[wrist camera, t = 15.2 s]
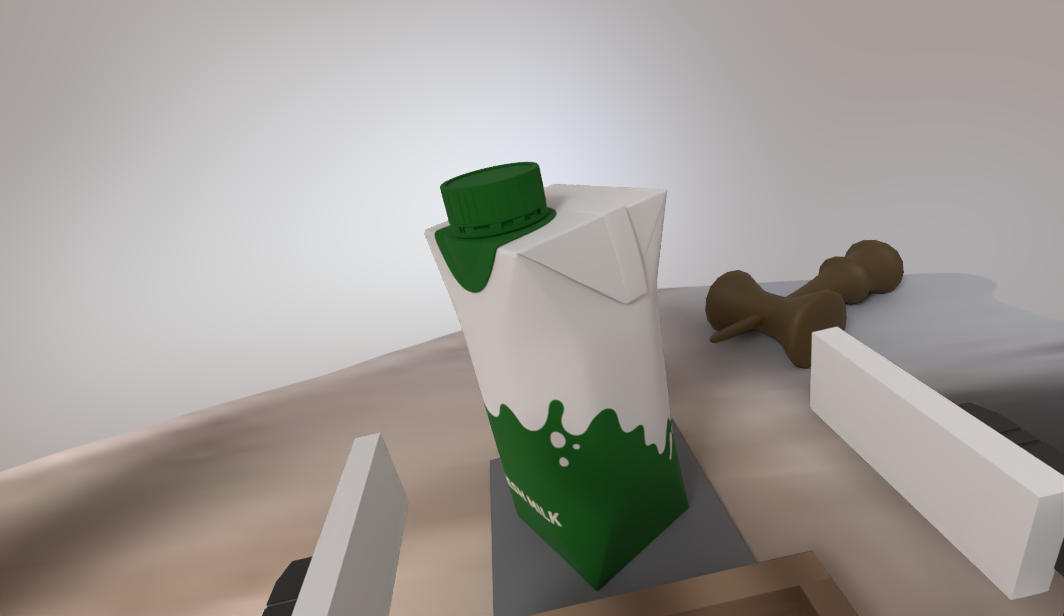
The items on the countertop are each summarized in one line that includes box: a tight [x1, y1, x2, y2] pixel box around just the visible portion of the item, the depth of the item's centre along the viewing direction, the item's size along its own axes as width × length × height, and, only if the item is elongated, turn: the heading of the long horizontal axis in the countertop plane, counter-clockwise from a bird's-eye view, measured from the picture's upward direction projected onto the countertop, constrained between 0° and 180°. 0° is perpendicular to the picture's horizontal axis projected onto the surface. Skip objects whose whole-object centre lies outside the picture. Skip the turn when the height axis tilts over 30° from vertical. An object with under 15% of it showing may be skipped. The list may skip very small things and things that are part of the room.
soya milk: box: [425, 162, 689, 591], centre depth 25 cm, size 9×9×20 cm
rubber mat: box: [490, 419, 756, 616], centre depth 29 cm, size 13×13×1 cm
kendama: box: [705, 240, 904, 368], centre depth 42 cm, size 6×10×20 cm
